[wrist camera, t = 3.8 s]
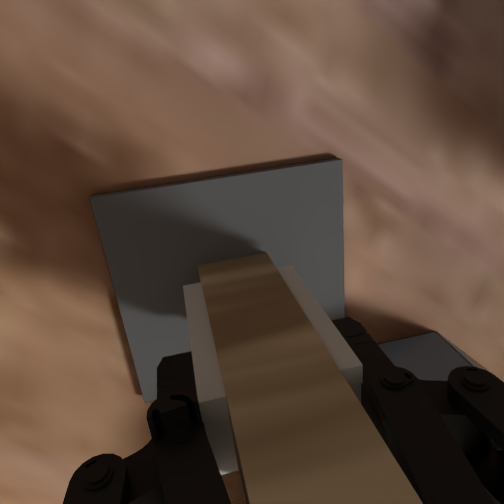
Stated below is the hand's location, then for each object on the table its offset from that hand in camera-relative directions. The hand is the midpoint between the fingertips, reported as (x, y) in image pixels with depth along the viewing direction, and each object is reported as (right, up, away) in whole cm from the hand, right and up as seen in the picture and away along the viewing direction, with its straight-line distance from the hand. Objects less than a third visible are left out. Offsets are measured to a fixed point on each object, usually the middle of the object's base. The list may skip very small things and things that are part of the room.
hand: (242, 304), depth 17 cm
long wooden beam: (0, +1, +1) cm, 1 cm away
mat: (0, +1, +2) cm, 2 cm away
